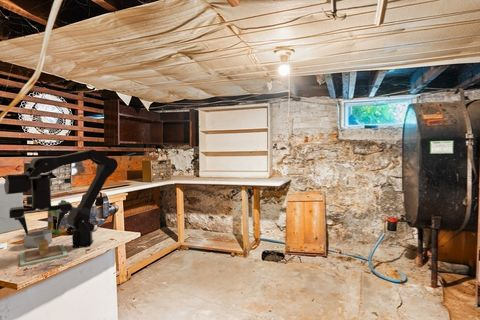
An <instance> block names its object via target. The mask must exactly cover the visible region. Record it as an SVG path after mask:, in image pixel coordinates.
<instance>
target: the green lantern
mask: <svg viewBox="0 0 480 320" xmlns="http://www.w3.org/2000/svg"><path fill="white" fill-rule="evenodd" d="M61 202H67V200H64V199H61V200H60V203H61ZM72 207H74V206H73V205H72ZM48 209H49V208H48ZM68 213H70V211H68ZM53 216H57V210H53V211H47V230H51V232H52V234H55V235H58V234H61V233H66V231H67V229H60V230H53ZM67 232H68V231H67Z"/></svg>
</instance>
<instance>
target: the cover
mask: <svg viewBox="0 0 480 320" xmlns="http://www.w3.org/2000/svg"><path fill="white" fill-rule="evenodd" d="M59 245H60V244H57V245H56V244H55V245H51V246H49V244H48V241H47V239H46V240H40V241H39V247H38V248H35V249H31V250H30V249H29V250H24V252H25V258H26V262H30V261H35V260H39V259H44V258H49V257H53V256H58V255H63V252H62V250H61V248H60V246H59Z"/></svg>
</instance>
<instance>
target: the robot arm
mask: <svg viewBox="0 0 480 320" xmlns="http://www.w3.org/2000/svg"><path fill="white" fill-rule="evenodd" d="M88 160H90V161H91V162H92V163H93V164H96V169H95V170H96V172H95V176H94V178H93V180H91V183H90V185H89V186H88V188H87V189H86V190H87V191H86V193H85V194H84V196H83V198H82V200H81V201H80V203H79V205H78V206H77V207H75V208H73V207H74V206H73V205H72V203H70V202H69V201H66V202H61V201H60V202H58V204H56V205H54V204H53V205H52V191H51V190H52V188H51V187H52V186H51V185H52V184H51V183H52V182H51V179H57V178H58V176H57V175H56V174H54V173H53V171H54V170H57V169H58V168H60V167H62V166H66V165H71V164H77V163H80V162H84V161H88ZM118 167H119V163H118V161H117V159H116V158H113V157H109V156H107V155H104V154H103V153H100V152H99V151H97V150H96V149H86V150H81V151H78V152H73V153H69V154H63V155H58V156H41V157H40V156H39V157H35V158H32V159H31V160H30V162H29V166H28V167H27V168H26V170H25V171H24V172H23V173H22V174H6V176H5V181H4V184H3V186H4V192H5V194H6V195H14V194H23V193H28V191H30V190H31V195H29V196H26V206H31V207H28V208H25V207H24V206H14V207H11V208H9V210H8V211H9V219H14V221H18V222H19V223H20V225H21V227H22V228H23V230H24V232H25V234H26V235H28V233H29V230H28V226H27V221H26V215H25V214H33V213H34V214H35V213H43V212H48V211H53V210H57V223H56V230H58V228H59V226H60V223H61V221H62V219H63V217H64V215H65V214H67V213H68V211H70V213H69V215H67V217H68V219H67V223H68V225H69V226H71V227H72V228H73V230H72V231H73V234H72V239H71V240H72V241H71V242H72V248H73V249H74V248H86V247H91V245H92V244H93V243H94V239H93V231H94V229H95V228H96V226H95V225H94V224H93V223H92V222H90V220H91V219H90V218H91V215H92V214H91V213H92V207H93V206H94V204H95V202H96V200H97V198H98V197H99V194H100V193H101V190H102V189H103V187H104V185H105V183H106V181H107V179H108V178H109V177H111V176H112V174H113V175H114V172H116V170H117V169H118ZM72 206H73V207H72ZM48 208H49V209H48Z"/></svg>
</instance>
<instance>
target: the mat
mask: <svg viewBox="0 0 480 320" xmlns="http://www.w3.org/2000/svg"><path fill="white" fill-rule="evenodd" d="M58 245H59V246H60V248H61V250H62V252H63V255H58V256H53V257H49V258H44V259H39V260H35V261H30V262H26V258H25V251H22V252H19V264H20V267H21V268H22V267H25V266H29V265H30V266H31V265H34V264H39V263H44V262H49V261H53V260H58V259H62V258H66V257H69V253H68V252H67V250H66V248H65V246H64V244H62V243H61V244H58Z"/></svg>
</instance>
